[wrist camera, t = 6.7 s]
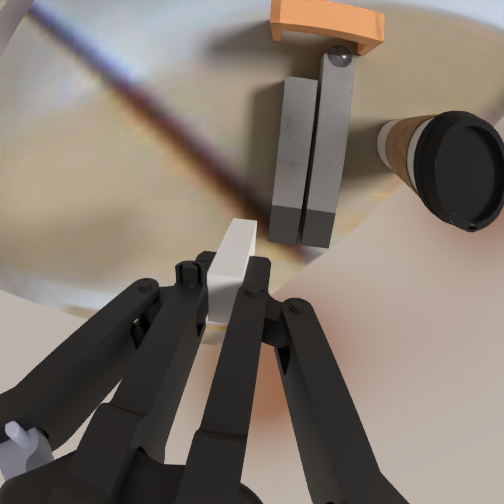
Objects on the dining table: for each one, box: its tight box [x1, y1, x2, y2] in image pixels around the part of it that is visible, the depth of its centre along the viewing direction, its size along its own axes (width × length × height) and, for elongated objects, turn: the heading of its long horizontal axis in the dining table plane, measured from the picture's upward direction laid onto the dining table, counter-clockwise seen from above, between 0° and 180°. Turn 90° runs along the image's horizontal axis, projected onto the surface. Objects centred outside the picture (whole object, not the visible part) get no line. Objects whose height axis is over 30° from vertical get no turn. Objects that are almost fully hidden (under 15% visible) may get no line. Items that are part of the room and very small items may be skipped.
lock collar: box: [270, 0, 384, 55], centre depth 19 cm, size 3×10×6 cm, turn 86°
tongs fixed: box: [300, 45, 355, 248], centre depth 26 cm, size 21×3×3 cm, turn 176°
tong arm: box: [268, 76, 318, 245], centre depth 27 cm, size 17×3×3 cm, turn 175°
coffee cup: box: [377, 111, 504, 232], centre depth 20 cm, size 8×8×15 cm
